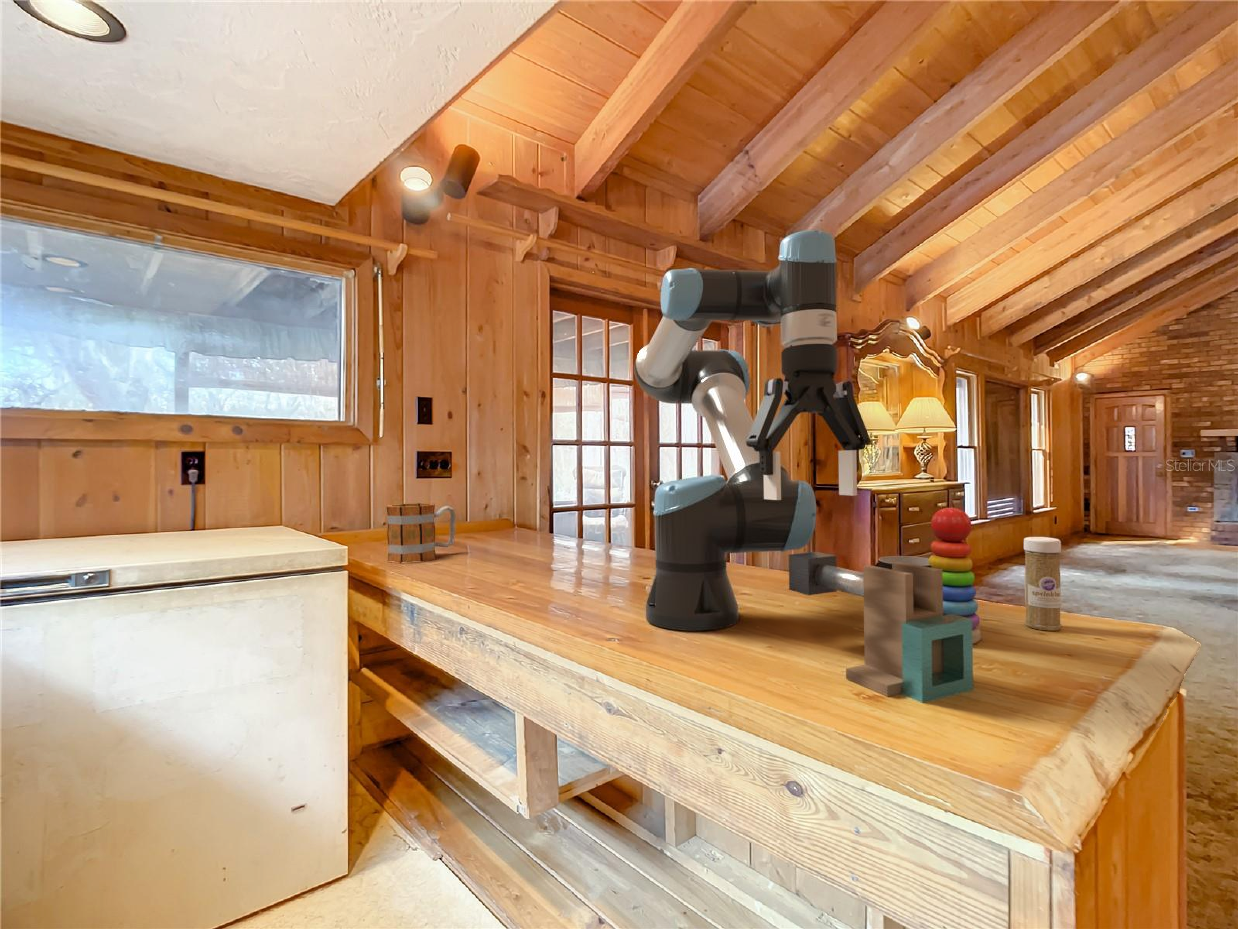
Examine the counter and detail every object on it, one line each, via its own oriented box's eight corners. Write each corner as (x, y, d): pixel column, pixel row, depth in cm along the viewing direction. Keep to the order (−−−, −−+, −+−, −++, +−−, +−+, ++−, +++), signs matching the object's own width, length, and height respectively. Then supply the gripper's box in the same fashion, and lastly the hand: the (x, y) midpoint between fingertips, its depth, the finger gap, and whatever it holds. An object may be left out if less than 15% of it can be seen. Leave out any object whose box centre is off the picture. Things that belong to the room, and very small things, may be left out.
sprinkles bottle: (1038, 632, 88) (1037, 540, 88) (1017, 623, 92) (1016, 536, 92) (1069, 631, 88) (1068, 539, 88) (1047, 622, 92) (1046, 535, 92)
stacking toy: (930, 646, 83) (928, 510, 82) (910, 629, 90) (908, 505, 90) (992, 647, 81) (990, 509, 81) (966, 630, 89) (964, 505, 89)
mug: (396, 565, 157) (395, 507, 156) (379, 559, 167) (377, 505, 167) (466, 556, 169) (465, 503, 169) (445, 551, 180) (444, 501, 179)
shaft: (789, 589, 85) (788, 554, 85) (816, 586, 87) (816, 551, 87) (890, 618, 69) (889, 575, 69) (920, 613, 71) (920, 571, 71)
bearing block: (846, 678, 71) (844, 568, 71) (917, 662, 76) (916, 559, 76) (887, 696, 66) (885, 577, 66) (961, 678, 71) (960, 567, 70)
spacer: (902, 694, 66) (901, 622, 66) (952, 682, 69) (951, 613, 69) (922, 703, 64) (921, 628, 64) (973, 690, 67) (972, 619, 67)
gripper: (752, 335, 76) (755, 503, 76) (895, 346, 86) (897, 494, 86) (719, 346, 83) (721, 499, 83) (855, 355, 93) (857, 492, 93)
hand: (811, 497), depth 84 cm, fingers open, 13 cm apart
